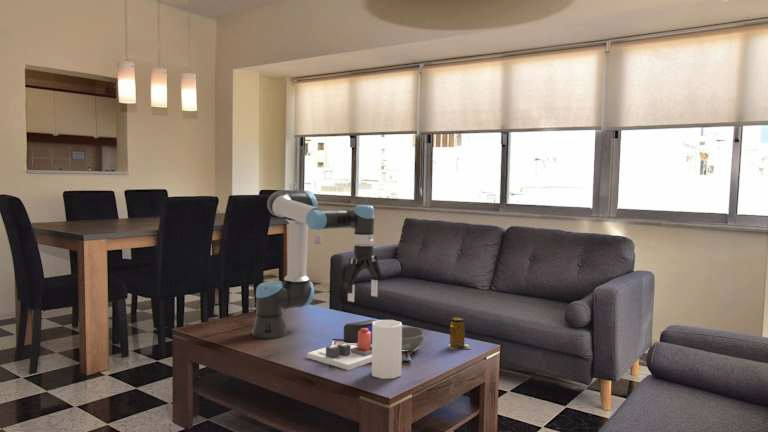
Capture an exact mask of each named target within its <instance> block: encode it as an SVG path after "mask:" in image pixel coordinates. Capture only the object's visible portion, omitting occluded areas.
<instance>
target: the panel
mask: <svg viewBox="0 0 768 432" xmlns="http://www.w3.org/2000/svg"><path fill="white" fill-rule="evenodd" d="M340 344H347V345H350V355H347V356H343V355H339V357H336V358H330V357H327V356H326V347H327V346H326V347H325V346H324V347H322V348H319V349H316V350H313V351H309V352H307V353H306V354H307V356H306V357H307V359H309V360H310V359H311V360H312V361H313V360H314V361H317V362H320V363H323V364H327V365H329V366H333V367H337V368H340V369H344V370H346V371H351V370H353V369H356V368H359V367H362V366H364V365H368V364H369V363H372V346H371V350H370V351H367V352H364V351H360V350H358V346H356V345H352V344H348V343H344V341H342V342H340V343H336V344H333V345H331V346H336V347H338V345H340Z"/></svg>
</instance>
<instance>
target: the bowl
mask: <svg viewBox="0 0 768 432" xmlns="http://www.w3.org/2000/svg"><path fill="white" fill-rule="evenodd" d="M424 335H425V332H424V331H423V330H422V329H421V328H419V327H416V326H415V327H414V326H411V327H410V326H405V327H404V326H402V350H408V351H407V352H412V351H414V350H416V349H419V347H420V346H421V345H422V343H423V340H424V338H425V336H424Z"/></svg>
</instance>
